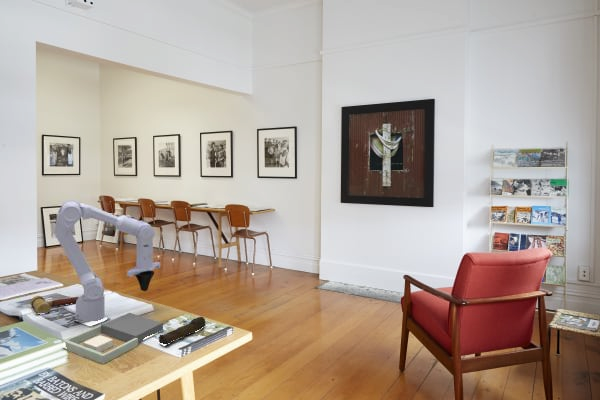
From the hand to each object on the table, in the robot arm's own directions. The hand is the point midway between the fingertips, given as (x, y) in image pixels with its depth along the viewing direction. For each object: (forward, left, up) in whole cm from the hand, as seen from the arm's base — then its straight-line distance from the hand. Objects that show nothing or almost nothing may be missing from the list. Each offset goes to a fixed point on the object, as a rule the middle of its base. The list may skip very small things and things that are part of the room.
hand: (144, 290), depth 154 cm
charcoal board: (+8, -13, -9) cm, 18 cm away
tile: (+7, -26, -7) cm, 28 cm away
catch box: (+8, -25, -9) cm, 28 cm away
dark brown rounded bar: (+24, -6, -10) cm, 27 cm away
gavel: (-31, -10, -10) cm, 34 cm away
